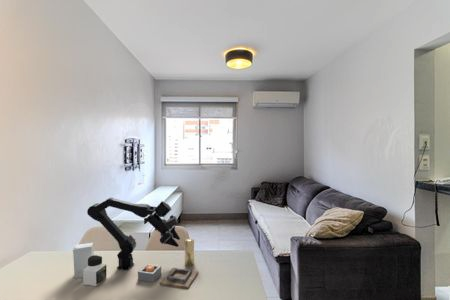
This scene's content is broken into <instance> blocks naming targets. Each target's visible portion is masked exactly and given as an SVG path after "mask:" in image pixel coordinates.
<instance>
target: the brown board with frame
mask: <svg viewBox="0 0 450 300" xmlns="http://www.w3.org/2000/svg"><path fill="white" fill-rule="evenodd" d="M198 274H199V270H192V269H186V268H179V267H172V268H171V269H170V270H169V272H168V273H167V274H165V276H164V277H163V278H162V279H161V281H160V282H159V286H165V287H166V286H167V287H174V288H181V289H187V290H188V289H189V287H190V286H191V285H192V283H193V282H194V280H195V279H196V277H197V276H198Z"/></svg>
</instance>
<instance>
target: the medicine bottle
mask: <svg viewBox="0 0 450 300" xmlns="http://www.w3.org/2000/svg"><path fill="white" fill-rule="evenodd" d="M82 278H83V282H82V283H83V285H84V286H85V285H86V286H93V287H97V286H99V285H100V284H101V283H103V282H104V281H105V280H106V279H107V264H106V263H103V256H102V255H101V254H95V255H93V256H91V257H89V258H88V267H87V268H85V269H84V270H83V277H82Z"/></svg>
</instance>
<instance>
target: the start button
mask: <svg viewBox="0 0 450 300" xmlns="http://www.w3.org/2000/svg"><path fill="white" fill-rule="evenodd" d="M152 265H153V264H151V265H150V266H147V267H146V272H153V271H154V266H152Z"/></svg>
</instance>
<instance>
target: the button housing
mask: <svg viewBox="0 0 450 300" xmlns="http://www.w3.org/2000/svg"><path fill="white" fill-rule="evenodd" d="M150 265H152V266H154V271H153V272H146V267H147V266H150ZM160 275H162V265H158V264H152V263H151V264H150V263H146V264H145V265H144V266H143V267H141V269H139V270H138V271H137V280H138V281H142V282H148V283H154V282H155V281H156V280H157V279H158V278H159V277H160Z"/></svg>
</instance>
